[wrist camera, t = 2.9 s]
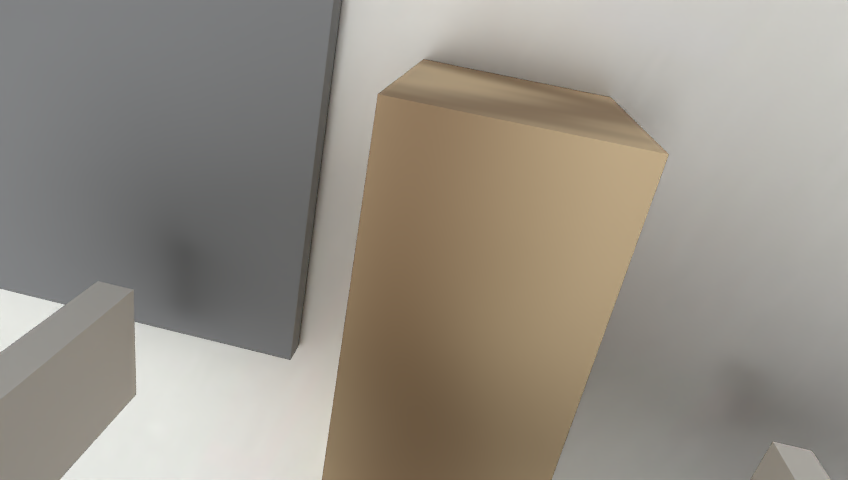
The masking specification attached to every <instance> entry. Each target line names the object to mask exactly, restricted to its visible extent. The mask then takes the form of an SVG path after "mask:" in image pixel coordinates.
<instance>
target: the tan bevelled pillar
mask: <svg viewBox="0 0 848 480" xmlns="http://www.w3.org/2000/svg"><path fill="white" fill-rule="evenodd" d="M668 155H669V154H668V153H667V152H666V151H665V150H664V149H663V148H662V147H661V146H660V145H659V144H658V143H657V142H656V141H655V140H654V139H653V138H652V137H650V136H649V135H648V134H647V133H646V132H645V131H644V130H643V129H642V128H641V127H640V126H639V125H638V124H637V123H636V122H635V121H634V120H633V119H632V118H631V117H630V116H629V115H628V114H627V113H626V112H625V111H624V110H623V109H622V108H621V107H620V106H619V105H618V104H617V103H616V102H615V101H614V100H613V99H612V98H611V97H606V96H602V95H597V94H592V93H587V92H582V91H577V90H572V89H567V88H562V87H557V86H552V85H548V84H543V83H538V82H533V81H528V80H523V79H518V78H513V77H508V76H503V75H499V74H494V73H489V72H484V71H479V70H474V69H469V68H464V67H459V66H454V65H449V64H445V63H440V62H435V61H430V60H425V59H423V60H422V61H421V62H419V63H418V64H417V65H415V66H414V67H413V68H411V69H410V70H409V71H408V72H406V73H405V74H404V75H402V76H401V77H400V78H398V79H397V80H396V81H394V82H393V83H392V84H390V85H389V86H388V87H387V88H385V89H384V90H383V91H381V92H380V93H379V94H378V97H377V104H376V111H375V118H374V124H373V131H372V138H371V145H370V152H369V159H368V166H367V173H366V180H365V186H364V193H363V200H362V207H361V214H360V221H359V228H358V235H357V242H356V248H355V255H354V262H353V269H352V276H351V283H350V290H349V297H348V304H347V310H346V317H345V324H344V331H343V338H342V345H341V352H340V359H339V366H338V372H337V379H336V386H335V393H334V400H333V407H332V414H331V421H330V428H329V435H328V441H327V448H326V455H325V462H324V469H323V476H322V480H552V477H553V474H554V471H555V469H556V466H557V463H558V460H559V457H560V455H561V452H562V449H563V446H564V444H565V441H566V438H567V435H568V432H569V430H570V427H571V424H572V421H573V419H574V416H575V413H576V410H577V408H578V405H579V402H580V399H581V396H582V394H583V391H584V388H585V385H586V383H587V380H588V377H589V374H590V372H591V369H592V366H593V363H594V360H595V358H596V355H597V352H598V349H599V347H600V344H601V341H602V338H603V335H604V333H605V330H606V327H607V324H608V322H609V319H610V316H611V313H612V311H613V308H614V305H615V302H616V299H617V297H618V294H619V291H620V288H621V286H622V283H623V280H624V277H625V274H626V272H627V269H628V266H629V263H630V261H631V258H632V255H633V252H634V250H635V247H636V244H637V241H638V238H639V236H640V233H641V230H642V227H643V225H644V222H645V219H646V216H647V214H648V211H649V208H650V205H651V202H652V200H653V197H654V194H655V191H656V189H657V186H658V183H659V180H660V177H661V175H662V172H663V169H664V166H665V164H666V161H667V158H668Z"/></svg>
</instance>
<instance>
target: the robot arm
mask: <svg viewBox="0 0 848 480" xmlns="http://www.w3.org/2000/svg"><path fill="white" fill-rule="evenodd" d="M135 395H136V368H135V328H134V290H133V289H129V288H125V287H121V286H116V285H112V284H108V283H104V282H100V281H97V282H96V283H95V284H93V285H92V286H91V287H89V288H88V289H86V290H85V291H84V292H82V293H81V294H80V295H78V296H77V297H76V298H74V299H73V300H71V301H70V302H69V303H67V304H66V305H65V306H63V307H62V308H60V309H59V310H58V311H56V312H55V313H54V314H52V315H51V316H50V317H48V318H47V319H45V320H44V321H43V322H41V323H40V324H39V325H37V326H36V327H35V328H33V329H32V330H30V331H29V332H28V333H26V334H25V335H24V336H22V337H21V338H20V339H18V340H17V341H15V342H14V343H13V344H11V345H10V346H9V347H7V348H6V349H5V350H3V351H2V352H0V480H60V479H61V478H62V476H63V475H64V474H65V473H66V472H67V471H68V470H69V469H70V468H71V466H72V465H73V464H74V463H75V462H76V461H77V460H78V459H79V457H80V456H81V455H82V454H83V453H84V452H85V451H86V450H87V449H88V447H89V446H90V445H91V444H92V443H93V442H94V441H95V440H96V439H97V437H98V436H99V435H100V434H101V433H102V432H103V431H104V430H105V428H106V427H107V426H108V425H109V424H110V423H111V422H112V421H113V420H114V418H115V417H116V416H117V415H118V414H119V413H120V412H121V411H122V410H123V408H124V407H125V406H126V405H127V404H128V403H129V402H130V401H131V400H132V398H133V397H134V396H135ZM750 480H831V479H830V478H829V476H828V475H827V473H826V472H825V470H824V468H823V467H822V465H821V464H820V462H819V461H818V459H817V458H816V456H815V455H814V453H813V452H812V451H811V450H807V449H803V448H799V447H795V446H790V445H786V444H782V443H778V442H772V444H771V445H770V447H769V449H768V450H767V452H766V454H765V455H764V457H763V459H762V461H761V462H760V464H759V466H758V467H757V469H756V471H755V472H754V474H753V476H752V478H751V479H750Z"/></svg>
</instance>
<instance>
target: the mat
mask: <svg viewBox="0 0 848 480" xmlns="http://www.w3.org/2000/svg"><path fill="white" fill-rule="evenodd" d="M340 8H341V0H0V289H4V290H8V291H12V292H16V293H20V294H24V295H28V296H33V297H37V298H41V299H45V300H49V301H53V302H57V303H61V304H65V305H66V304H67V303H69V302H70V301H71V300H73V299H74V298H76V297H77V296H78V295H80V294H81V293H82V292H84V291H85V290H86V289H88V288H89V287H91V286H92V285H93V284H95V283H96V282H97V281H100V282H104V283H108V284H112V285H116V286H121V287H125V288H129V289H133V290H134V322H138V323H142V324H147V325H151V326H155V327H159V328H163V329H167V330H171V331H175V332H179V333H183V334H187V335H191V336H195V337H199V338H204V339H208V340H212V341H216V342H220V343H224V344H228V345H232V346H236V347H240V348H244V349H248V350H252V351H256V352H261V353H265V354H269V355H273V356H277V357H281V358H285V359H289V360H290V359H291V358H292V356H293V354H294V353H295V351H296V349H297V348H298V343H299V335H300V327H301V319H302V311H303V303H304V295H305V287H306V279H307V271H308V263H309V255H310V247H311V239H312V231H313V223H314V215H315V207H316V199H317V191H318V184H319V176H320V168H321V160H322V152H323V144H324V136H325V128H326V120H327V112H328V104H329V96H330V88H331V80H332V72H333V64H334V56H335V48H336V40H337V32H338V24H339V16H340Z"/></svg>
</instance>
